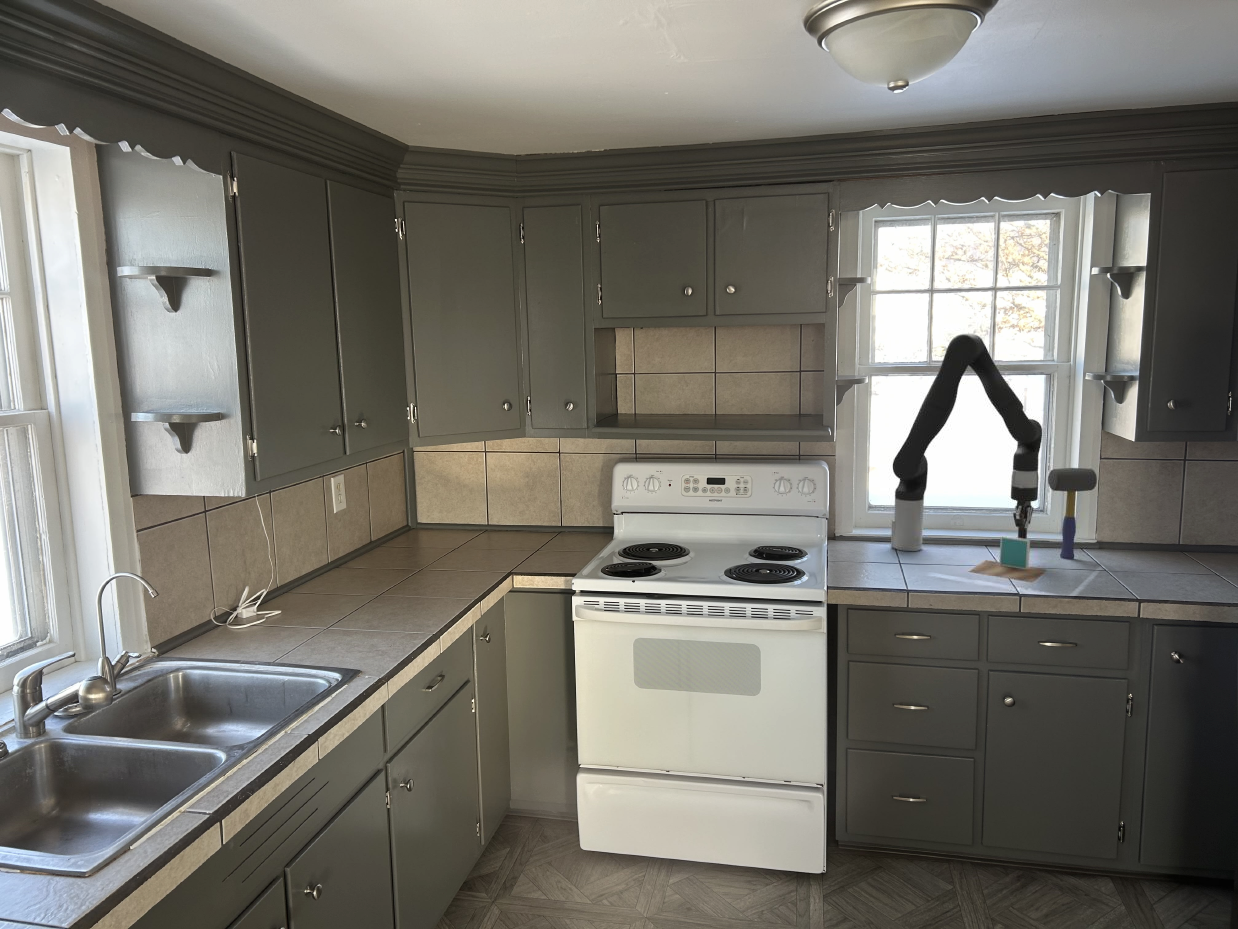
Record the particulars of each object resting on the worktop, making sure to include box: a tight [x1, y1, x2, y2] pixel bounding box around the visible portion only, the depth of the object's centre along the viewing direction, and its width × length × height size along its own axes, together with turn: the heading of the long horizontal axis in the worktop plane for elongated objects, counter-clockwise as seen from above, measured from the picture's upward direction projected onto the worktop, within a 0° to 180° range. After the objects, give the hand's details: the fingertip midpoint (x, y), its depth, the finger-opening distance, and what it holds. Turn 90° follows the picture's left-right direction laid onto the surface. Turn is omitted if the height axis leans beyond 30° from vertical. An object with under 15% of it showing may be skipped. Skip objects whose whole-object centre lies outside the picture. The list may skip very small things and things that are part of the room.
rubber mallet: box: [1047, 467, 1098, 560], centre depth 268 cm, size 12×8×30 cm, turn 88°
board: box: [968, 559, 1048, 583], centre depth 257 cm, size 18×16×1 cm
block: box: [998, 535, 1031, 569], centre depth 260 cm, size 8×2×9 cm, turn 49°
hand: (1022, 539), depth 265 cm, fingers closed
